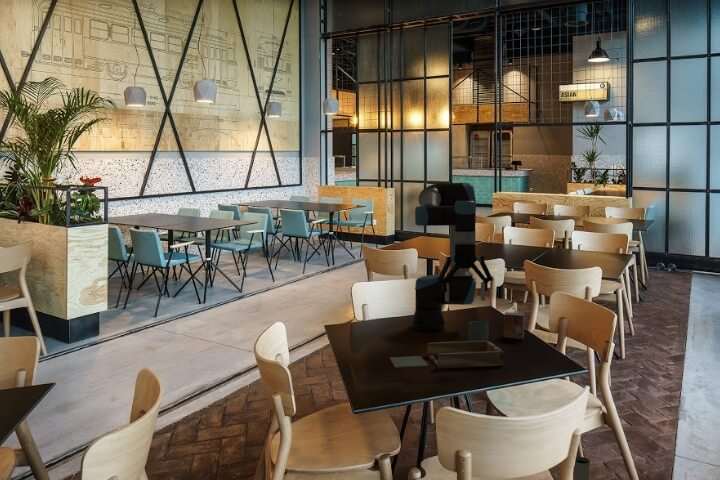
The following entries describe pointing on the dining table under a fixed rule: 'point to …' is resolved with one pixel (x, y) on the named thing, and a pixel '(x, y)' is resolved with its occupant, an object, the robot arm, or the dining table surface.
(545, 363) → the dining table surface
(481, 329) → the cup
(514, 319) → the small box
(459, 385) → the dining table surface
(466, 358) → the wooden tray
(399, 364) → the sage tile
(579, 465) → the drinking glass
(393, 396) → the dining table surface
